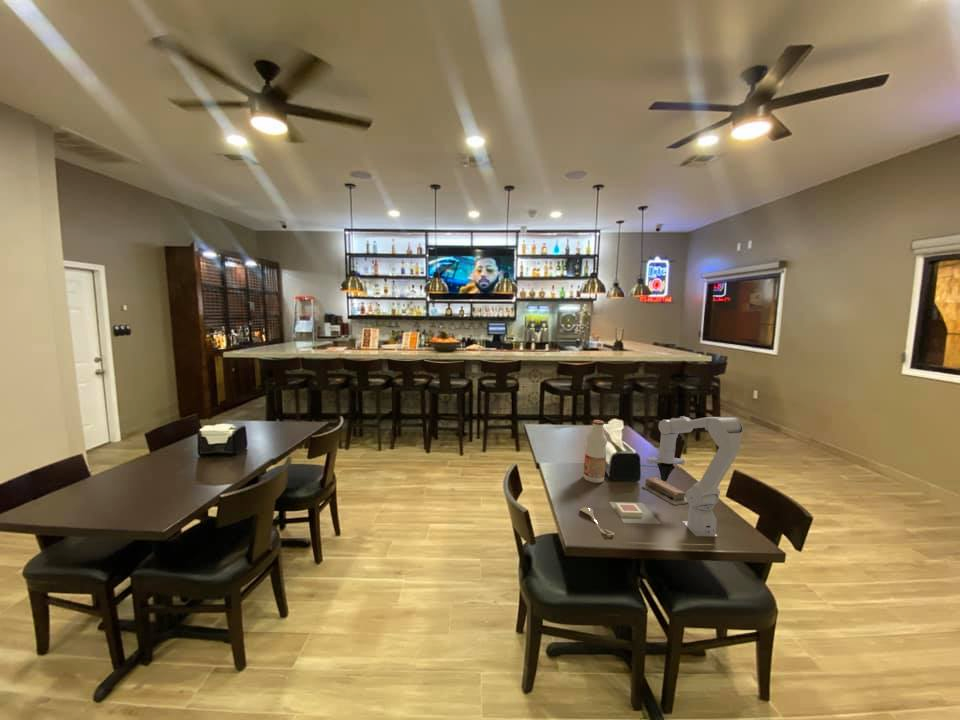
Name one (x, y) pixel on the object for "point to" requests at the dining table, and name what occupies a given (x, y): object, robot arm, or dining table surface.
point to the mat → (647, 517)
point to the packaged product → (665, 491)
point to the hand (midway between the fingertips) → (663, 480)
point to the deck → (628, 510)
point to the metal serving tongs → (590, 512)
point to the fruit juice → (595, 453)
